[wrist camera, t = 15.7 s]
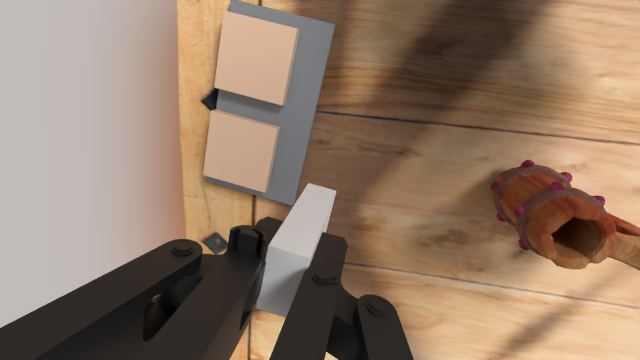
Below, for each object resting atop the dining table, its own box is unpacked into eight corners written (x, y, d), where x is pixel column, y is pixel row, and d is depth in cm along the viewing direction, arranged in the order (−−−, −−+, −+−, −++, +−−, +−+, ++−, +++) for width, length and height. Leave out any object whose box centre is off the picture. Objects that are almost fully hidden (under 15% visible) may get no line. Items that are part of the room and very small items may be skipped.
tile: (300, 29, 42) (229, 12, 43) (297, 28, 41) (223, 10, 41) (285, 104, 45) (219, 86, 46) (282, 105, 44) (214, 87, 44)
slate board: (234, 0, 43) (230, -2, 42) (336, 25, 42) (334, 24, 41) (210, 178, 52) (206, 180, 50) (295, 202, 51) (293, 205, 49)
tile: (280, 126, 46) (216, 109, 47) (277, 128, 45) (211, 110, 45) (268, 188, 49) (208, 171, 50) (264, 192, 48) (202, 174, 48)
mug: (472, 205, 46) (511, 266, 32) (499, 147, 44) (555, 186, 30) (582, 239, 46) (673, 318, 31) (617, 183, 43) (734, 241, 29)
